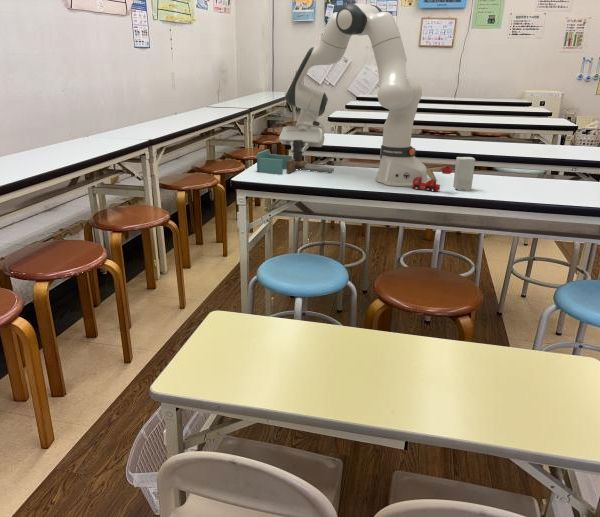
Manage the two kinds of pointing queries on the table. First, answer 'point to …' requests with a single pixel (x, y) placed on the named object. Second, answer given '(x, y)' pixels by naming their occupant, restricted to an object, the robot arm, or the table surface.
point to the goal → (271, 162)
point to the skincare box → (464, 172)
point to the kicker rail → (315, 169)
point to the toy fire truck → (432, 183)
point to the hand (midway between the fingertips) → (297, 152)
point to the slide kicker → (295, 157)
